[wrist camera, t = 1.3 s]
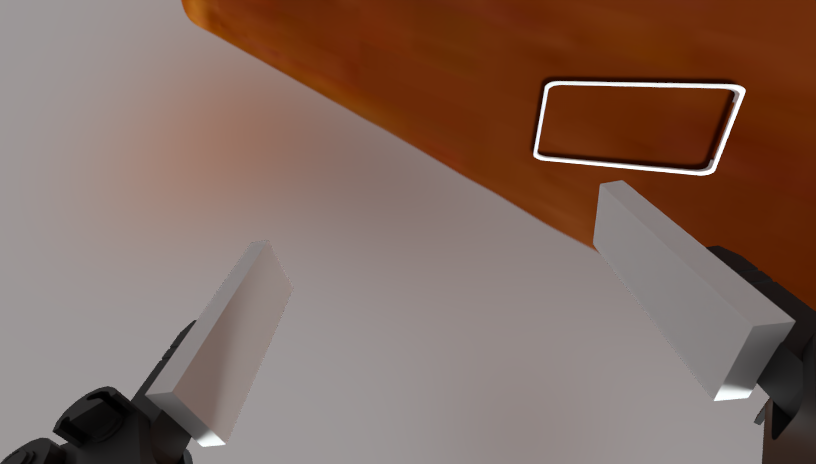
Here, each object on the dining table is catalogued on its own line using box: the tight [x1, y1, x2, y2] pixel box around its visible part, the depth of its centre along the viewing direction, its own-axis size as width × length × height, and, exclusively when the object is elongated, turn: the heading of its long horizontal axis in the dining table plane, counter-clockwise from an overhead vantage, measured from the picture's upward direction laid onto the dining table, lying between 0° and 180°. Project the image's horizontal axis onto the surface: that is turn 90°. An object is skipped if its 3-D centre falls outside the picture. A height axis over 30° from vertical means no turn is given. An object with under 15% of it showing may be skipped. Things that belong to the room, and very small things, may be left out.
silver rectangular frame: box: [533, 81, 745, 175], centre depth 31 cm, size 7×1×15 cm
